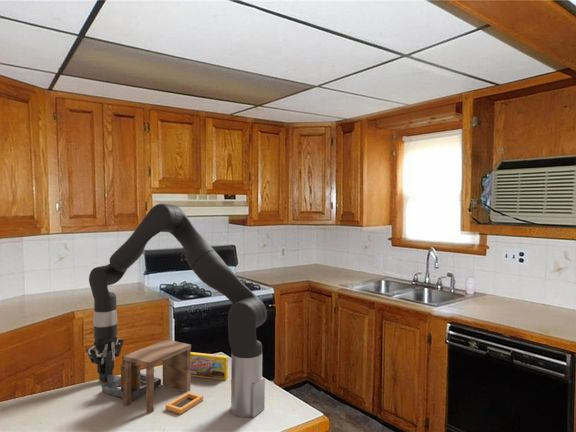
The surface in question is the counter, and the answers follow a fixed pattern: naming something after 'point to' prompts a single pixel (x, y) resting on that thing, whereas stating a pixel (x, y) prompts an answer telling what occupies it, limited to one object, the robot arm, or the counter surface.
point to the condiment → (134, 375)
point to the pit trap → (184, 403)
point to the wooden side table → (173, 368)
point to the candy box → (209, 366)
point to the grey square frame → (116, 380)
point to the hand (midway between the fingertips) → (106, 372)
